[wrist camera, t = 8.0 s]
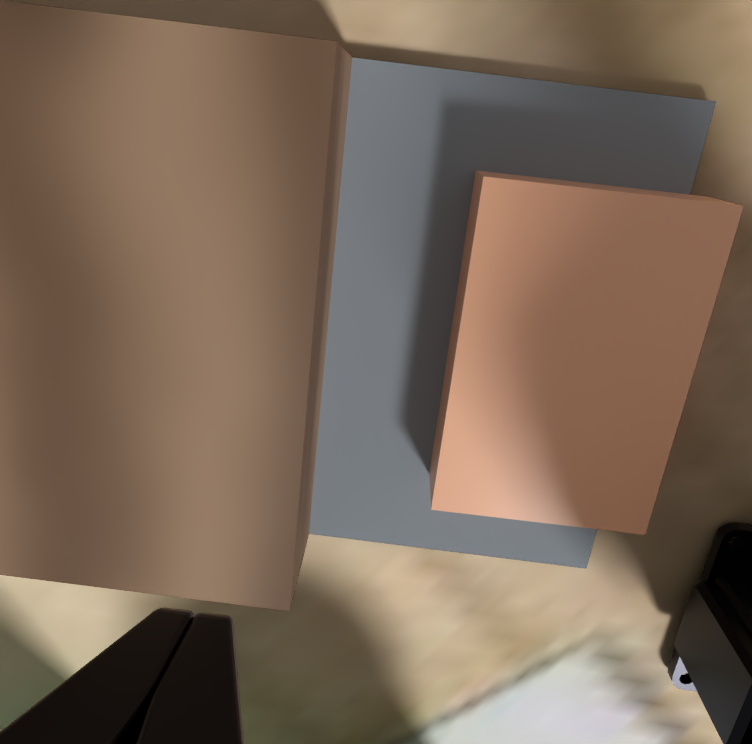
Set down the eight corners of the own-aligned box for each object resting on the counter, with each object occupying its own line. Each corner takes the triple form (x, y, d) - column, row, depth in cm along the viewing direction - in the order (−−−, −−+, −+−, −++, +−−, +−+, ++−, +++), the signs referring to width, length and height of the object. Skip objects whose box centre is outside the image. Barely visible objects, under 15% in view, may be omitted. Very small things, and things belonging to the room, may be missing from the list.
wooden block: (353, 58, 17) (337, 41, 13) (310, 526, 22) (289, 611, 18) (-118, 2, 17) (-270, -33, 13) (-51, 481, 22) (-147, 555, 18)
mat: (709, 101, 17) (715, 101, 16) (583, 560, 22) (586, 568, 21) (353, 58, 17) (352, 57, 16) (310, 526, 22) (309, 533, 21)
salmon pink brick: (483, 176, 15) (475, 170, 17) (430, 509, 18) (429, 474, 20) (743, 206, 15) (707, 196, 17) (645, 535, 18) (623, 496, 20)
